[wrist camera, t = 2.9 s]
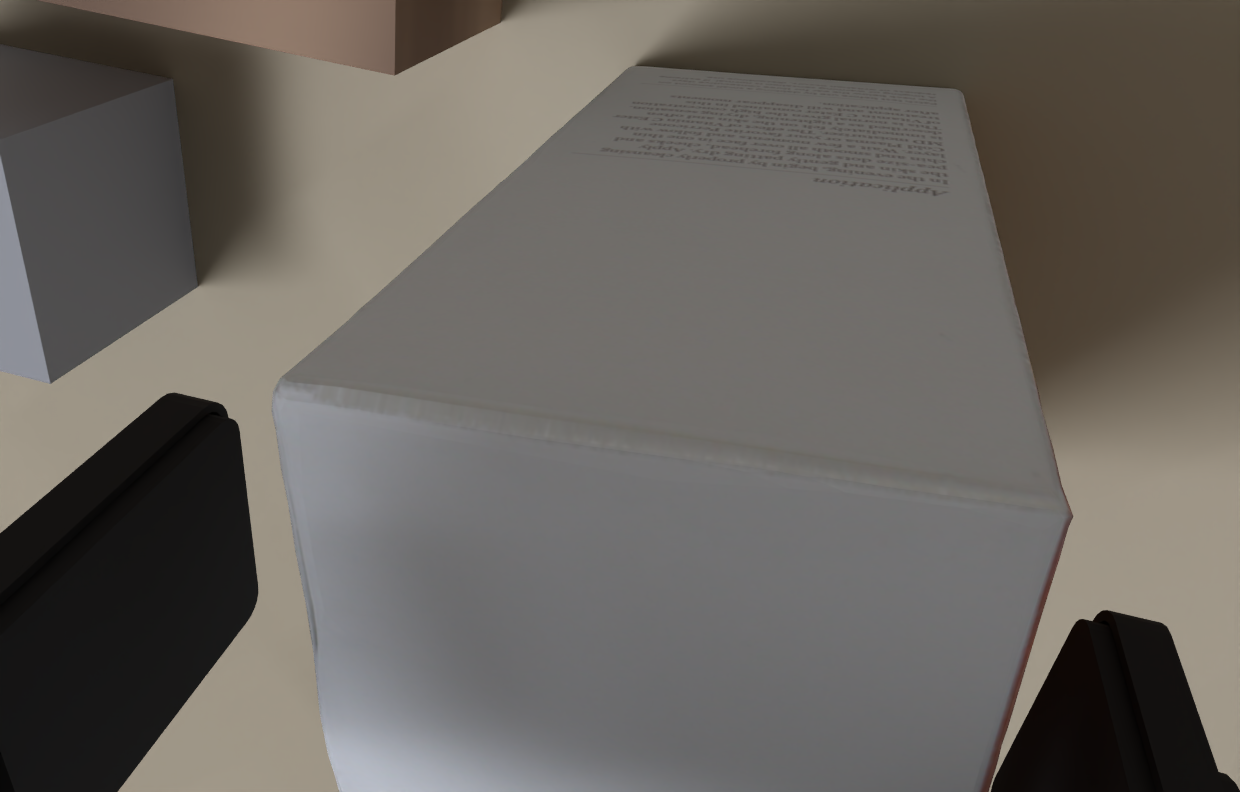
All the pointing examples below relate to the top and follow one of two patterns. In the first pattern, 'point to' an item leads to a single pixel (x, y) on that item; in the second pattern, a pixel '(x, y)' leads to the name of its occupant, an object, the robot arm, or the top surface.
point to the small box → (685, 462)
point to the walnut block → (320, 25)
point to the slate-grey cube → (85, 209)
